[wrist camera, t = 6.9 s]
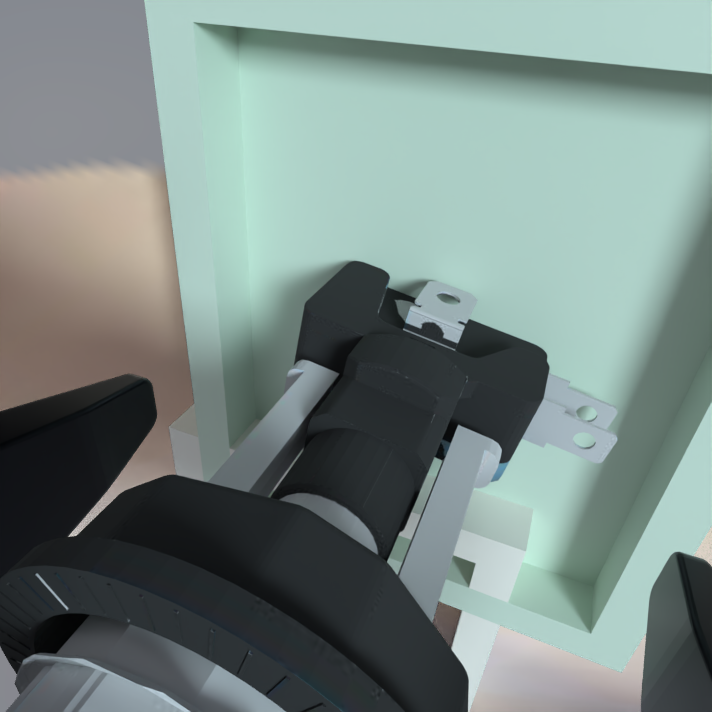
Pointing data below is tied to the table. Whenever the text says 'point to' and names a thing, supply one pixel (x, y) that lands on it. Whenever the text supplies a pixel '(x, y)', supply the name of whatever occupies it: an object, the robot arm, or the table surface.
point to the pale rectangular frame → (475, 543)
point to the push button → (300, 528)
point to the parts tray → (468, 242)
